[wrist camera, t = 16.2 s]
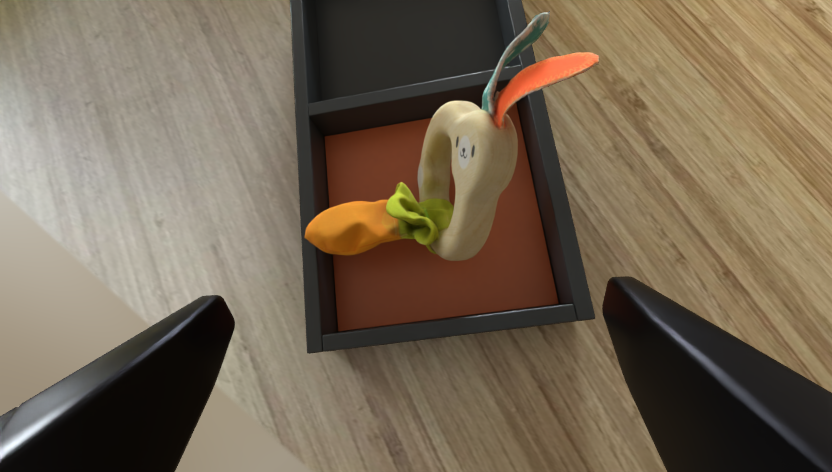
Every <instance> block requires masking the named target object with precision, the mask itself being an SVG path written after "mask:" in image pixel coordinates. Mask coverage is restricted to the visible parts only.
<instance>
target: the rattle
mask: <svg viewBox="0 0 832 472" xmlns="http://www.w3.org/2000/svg"><path fill="white" fill-rule="evenodd" d="M549 12H550V11H549ZM549 12H548V13H540V14H539V15H536V16H535V17H534V18H533V20H532V21H531V23H530V24H529V25H528V26H527V27H526V29H524V31H523V32H522V33H521V34H519V35H518V36H517V37H516V38H515V39H514V40H513V41H512V42H511V44H510V45H509V46H508V47H507V49H506V50H505V52H504V53H503V55H502V57H501V59H500V61H499V63H498V65H497V67H496V69H495V71H494V73H493V76H492V78H491V79H490V81H489V83H488V85H487V87H486V88H485V90H484V92H483V96H482V110H481V109H480V108H479V107H478V106H477V105H475V104H474V103H471V102H468V101H451V102H448V103H446V104H444V105H443V106H441V107H440V108H439V109H438V110H437V111H436V113H435V114H434V116H433V118H432V119H431V122H430V124H429V126H428V129H427V132H426V136H425V139H424V143H423V148H422V154H421V160H420V164H419V167H418V177H417V178H418V187H419V198H420V202H419V203H418V202H417V201H416V199H415V198H414V196H413V194H412V193H411V191H410V190H409V188H408V187H407V186H406V185H405V184H404V183H402V182H401V183H399V184H397V187H396V190H395V194H394V195H393V196H391V198H390V199H389V200H379V201H376V202H368V201H353V202H348V203H344V204H340V205H337V206H334V207H331V208H329V209H327V210H324V211H323V212H321V213H320V214H318V215H317V216H316V217H315V218H314V219H313V220H312V221H311V222H310V223H309V224H308V226H307V228H306V231H305V238H306V239H307V240H308V241H309V242H310V243H312V244H313V245H314V246H316V247H317V248H319V249H320V250H322V251H323V252H326V253H330V254H338V255H356V254H359V253H362V252H365V251H367V250H369V249H372V248H374V247H376V246H377V245H379V244H380V243H384V242H390V241H395V240H400V239H404V238H406V239H416V240H417V242H419V243H420V244H423V245H426V247H427V248H428V250H429V251H430V252H431V253H434V254H438V255H439V256H440V257H442V258H443V259H445V260H449V261H461V260H467V259H470V258H472V257H473V256H475V255H476V254H477V253H478V252H479V251H480V250H481V248H482V247H483V245H484V244H485V242H486V240H487V238H488V236H489V233H490V230H491V227H492V224H493V220H494V217H495V212H496V207H497V202H498V198H499V196H500V194H501V193H502V191H503V190H504V189H505V188H506V187H507V186H508V184H509V182H510V181H511V179H512V176H513V174H514V170H515V166H516V161H517V154H518V139H517V133H516V130H515V127H514V125H513V123H512V121H511V119H510V117H509V116H508V115H507V114H506V112H507V111H508V110H509V109H510V108H511V107H512V106H513V105H514V104H515V103H516V102H517V101H519V100H520V99H521V98H523V97H525V96H526V95H528V94H530V93H532V92H534V91H538V90H540V89H542V88H545V87H549V86H550V85H552V84H555V83H557V82H560V81H563V80H566V79H569V78H571V77H574V76H576V75H578V74H581V73H583V72H585V71H587V70H589V69H590V68H592V67H594V65H598V64H599V56H598V55H596V54H593V53H579V52H578V53H572V54H568V55H564V56H555V57H551V58H548V59H546V60H542V61H539V62H537V63H535V64H533V65H530V66H528V67H526V68H525V69H523V70H522V71H520V72H519V73H518V74H517V75H516V76H515V77H513V78H512V79H511V80H510V82H509V83H508V84H507V86H506V87H505V88H504V89H502V90H501V91H500V92H498V91H497V92H496V94H495V97H494V92H495V90H496V85H497V80H498V77H499V74H500V72H501V71H502V70H503V68H504V67H505V66H506V65H507V64H508V63H509V62H510V61H511V60H513V59H514V58H515V57H516V56H517V55H519V54H520V53H521V52H523V51H524V50H525V49H526V48H528V47H529V46H530V45H531V44H533V43H534V42H535V41H536V40H537V39H538V38H539V37H540V35H541V34H542V33H543V31H544V30H545V28H546V27H547V25H548V23H549V21H548V20H549ZM451 158H452V163H451ZM450 163H451V165H452V173H453V177H454V181H455V188H456V195H455V204H454V206H453V205H452V204H451V203H450V201H449V186H450Z"/></svg>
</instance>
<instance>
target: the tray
mask: <svg viewBox="0 0 832 472" xmlns="http://www.w3.org/2000/svg"><path fill="white" fill-rule="evenodd" d="M290 13H291V33H292V53H293V74H294V94H295V114H296V135H297V155H298V175H299V195H300V216H301V236H302V256H303V277H304V297H305V317H306V338H307V353H309V354H310V353H318V352H324V351H325V352H326V351H334V350H343V349H351V348H359V347H368V346H376V345H384V344H392V343H401V342H409V341H417V340H425V339H434V338H442V337H450V336H459V335H467V334H475V333H483V332H492V331H500V330H508V329H517V328H525V327H533V326H541V325H550V324H558V323H566V322H575V321H583V320H591V319H595V314H594V310H593V305H592V301H591V297H590V293H589V288H588V284H587V280H586V275H585V271H584V267H583V262H582V258H581V254H580V250H579V245H578V241H577V237H576V232H575V228H574V224H573V220H572V215H571V211H570V207H569V202H568V198H567V194H566V189H565V185H564V181H563V177H562V172H561V168H560V164H559V159H558V155H557V151H556V147H555V142H554V138H553V134H552V129H551V125H550V121H549V117H548V112H547V108H546V104H545V99H544V95H543V91H542V89H540V90H538V91H534V92H532V93H530V94H528V95H526V96H525V97H523V98H521V99H520V100H519V101H517V102H516V103H515V104H514V105H513V106H512V107H511V108H510V109H509V110H508V111H507V112H506V114H507V115H508V116H509V117H510V119H511V121H512V123H513V125H514V127H515V130H516V133H517V139H518V154H517V161H516V166H515V170H514V174H513V176H512V179H511V181H510V182H509V184H508V186H507V187H506V188H505V189H504V190H503V191H502V193H501V194H500V196H499V198H498V202H497V207H496V212H495V217H494V220H493V224H492V227H491V230H490V233H489V236H488V238H487V240H486V242H485V244H484V245H483V247H482V248H481V250H480V251H479V252H478V253H477V254H476V255H475V256H473V257H472V258H470V259H467V260H461V261H449V260H445V259H443V258H442V257H440V256H439V255H438V254H434V253H431V252H430V251H429V250H428V248H427V247H426V245H423V244H420V243H419V242H417V240H416V239H406V238H404V239H400V240H395V241H390V242H384V243H380V244H379V245H377V246H376V247H374V248H372V249H369V250H367V251H365V252H362V253H359V254H356V255H338V254H330V253H326V252H323V251H322V250H320V249H319V248H317V247H316V246H314V245H313V244H312V243H310V242H309V241H308V240H307V239H306V238H305V231H306V228H307V226H308V224H309V223H310V222H311V221H312V220H313V219H314V218H315V217H316V216H317V215H318V214H320V213H321V212H323V211H324V210H327V209H329V208H331V207H334V206H337V205H340V204H344V203H348V202H353V201H368V202H376V201H379V200H389V199H390V198H391V196H393V195H394V194H395V190H396V187H397V184H399V183H401V182H402V183H404V184H405V185H406V186H407V187H408V188H409V190H410V191H411V193H412V194H413V196H414V198H415V199H416V201H417V202H418V203H419V202H420V198H419V187H418V178H417V177H418V167H419V164H420V160H421V154H422V148H423V143H424V139H425V136H426V132H427V129H428V126H429V124H430V122H431V119H432V118H433V116H434V114H435V113H436V111H437V110H438V109H439V108H440V107H441V106H443V105H444V104H446V103H448V102H451V101H468V102H471V103H474V104H475V105H477V106H478V107H479V108H480V109H481V110H482V96H483V92H484V90H485V88H486V87H487V85H488V83H489V81H490V79H491V78H492V76H493V73H494V71H495V69H496V67H497V65H498V63H499V61H500V59H501V57H502V55H503V53H504V52H505V50H506V49H507V47H508V46H509V45H510V44H511V42H512V41H513V40H514V39H515V38H516V37H517V36H518V35H519V34H521V33H522V32H523V31H524V29H526V27H527V22H526V18H525V13H524V9H523V5H522V1H521V0H290ZM535 63H536V61H535V56H534V52H533V48H532V44H531V45H530V46H529V47H528V48H526V49H525V50H524V51H523V52H521V53H520V54H519V55H517V56H516V57H515V58H514V59H513V60H511V61H510V62H509V63H508V64H507V65H506V66H505V67H504V68H503V70H502V71H501V72H500V74H499V77H498V80H497V85H496V90H495V92H494V97H495V94H496V92H497V91H498V92H500V91H501V90H502V89H504V88H505V87H506V86H507V84H508V83H509V82H510V80H511V79H512V78H513V77H515V76H516V75H517V74H518V73H519V72H520V71H522V70H523V69H525V68H526V67H528V66H530V65H533V64H535ZM451 163H452V158H451ZM451 163H450V186H449V201H450V203H451V204H452V205H453V206H454V204H455V195H456V188H455V181H454V177H453V173H452V165H451Z"/></svg>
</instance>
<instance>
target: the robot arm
mask: <svg viewBox="0 0 832 472" xmlns="http://www.w3.org/2000/svg"><path fill="white" fill-rule="evenodd" d="M602 309H603V316H604V319H605V322H606V325H607V328H608V331H609V334H610V337H611V340H612V343H613V346H614V349H615V352H616V355H617V358H618V361H619V364H620V367H621V370H622V373H623V375H624V378H625V381H626V383H627V385H628V388H629V390H630V392H631V395H632V397H633V399H634V401H635V403H636V405H637V407H638V410H639V412H640V414H641V416H642V418H643V420H644V423H645V425H646V427H647V429H648V431H649V433H650V436H651V438H652V440H653V442H654V444H655V446H656V448H657V451H658V453H659V455H660V457H661V459H662V461H663V464H664V466H665V468H666V470H667V472H832V393H831V392H829V391H827V390H826V389H824V388H822V387H821V386H819V385H817V384H815V383H814V382H812V381H810V380H809V379H807V378H805V377H803V376H802V375H800V374H798V373H797V372H795V371H793V370H791V369H790V368H788V367H786V366H784V365H783V364H781V363H779V362H778V361H776V360H774V359H772V358H771V357H769V356H767V355H766V354H764V353H762V352H760V351H759V350H757V349H755V348H754V347H752V346H750V345H748V344H747V343H745V342H743V341H741V340H740V339H738V338H736V337H735V336H733V335H731V334H729V333H728V332H726V331H724V330H723V329H721V328H719V327H717V326H716V325H714V324H712V323H711V322H709V321H707V320H705V319H704V318H702V317H700V316H698V315H697V314H695V313H693V312H692V311H690V310H688V309H686V308H685V307H683V306H681V305H680V304H678V303H676V302H674V301H673V300H671V299H669V298H668V297H666V296H664V295H662V294H661V293H659V292H657V291H655V290H654V289H652V288H650V287H649V286H647V285H645V284H643V283H642V282H640V281H638V280H637V279H635V278H633V277H629V276H625V277H612V278H610V279H609V281H608V284H607V288H606V293H605V297H604V301H603V308H602ZM234 327H235V321H234V318H233V316H232V314H231V312H230V310H229V308H228V306H227V304H226V302H225V301H224V299H223V298H222V297H221V296H218V295H210V296H202V297H200V298H198V299H196V300H195V301H193V302H191V303H190V304H188V305H186V306H185V307H183V308H181V309H180V310H178V311H176V312H175V313H173V314H171V315H170V316H168V317H166V318H165V319H163V320H161V321H160V322H158V323H156V324H154V325H153V326H151V327H149V328H148V329H146V330H145V331H143V332H141V333H139V334H138V335H136V336H134V337H133V338H131V339H130V340H128V341H126V342H124V343H123V344H121V345H119V346H118V347H116V348H114V349H113V350H111V351H109V352H108V353H106V354H104V355H103V356H101V357H99V358H97V359H96V360H94V361H93V362H91V363H89V364H88V365H86V366H84V367H83V368H81V369H79V370H77V371H76V372H74V373H72V374H71V375H69V376H67V377H66V378H64V379H62V380H61V381H59V382H57V383H56V384H54V385H52V386H51V387H49V388H47V389H46V390H44V391H42V392H40V393H39V394H37V395H35V396H34V397H32V398H30V399H29V400H27V401H25V402H24V403H22V404H21V405H20V406H19V407H15V408H14V409H12V410H10V411H8V412H7V413H6V414H3V415H2V416H0V472H175V470H176V468H177V466H178V464H179V462H180V459H181V457H182V455H183V453H184V451H185V448H186V446H187V444H188V442H189V440H190V438H191V436H192V433H193V431H194V429H195V427H196V425H197V423H198V420H199V418H200V416H201V414H202V412H203V409H204V407H205V405H206V403H207V401H208V399H209V397H210V394H211V392H212V389H213V387H214V385H215V382H216V380H217V377H218V374H219V371H220V368H221V365H222V363H223V360H224V357H225V354H226V351H227V348H228V345H229V343H230V340H231V337H232V334H233V331H234Z"/></svg>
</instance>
